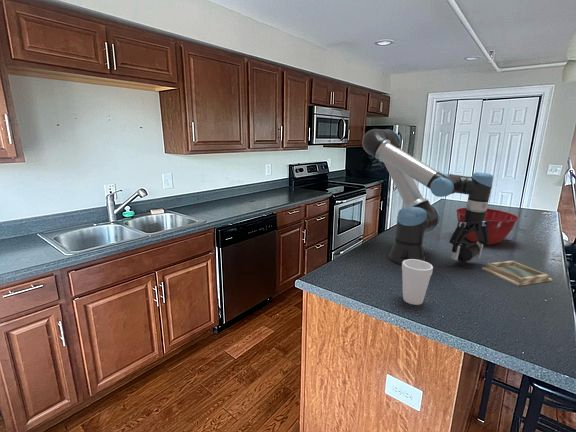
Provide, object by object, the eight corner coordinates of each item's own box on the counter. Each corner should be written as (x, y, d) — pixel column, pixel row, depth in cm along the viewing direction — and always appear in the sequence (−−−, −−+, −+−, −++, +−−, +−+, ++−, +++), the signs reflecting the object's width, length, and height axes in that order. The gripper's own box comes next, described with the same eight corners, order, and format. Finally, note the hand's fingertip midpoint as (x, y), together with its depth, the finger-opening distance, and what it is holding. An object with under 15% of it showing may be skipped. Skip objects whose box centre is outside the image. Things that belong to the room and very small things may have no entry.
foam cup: (420, 293, 113) (425, 259, 110) (432, 307, 104) (438, 270, 101) (394, 293, 112) (398, 259, 109) (404, 307, 104) (409, 270, 100)
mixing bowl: (508, 254, 153) (515, 223, 150) (445, 240, 171) (450, 213, 168) (515, 240, 174) (521, 213, 170) (459, 229, 192) (463, 205, 188)
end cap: (470, 264, 133) (473, 249, 131) (452, 259, 138) (455, 244, 136) (477, 258, 139) (481, 244, 138) (460, 253, 144) (463, 239, 143)
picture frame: (517, 286, 120) (518, 280, 119) (481, 269, 135) (482, 263, 134) (552, 280, 125) (553, 275, 124) (513, 265, 140) (515, 259, 139)
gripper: (459, 213, 126) (449, 263, 132) (506, 211, 132) (494, 259, 138) (445, 208, 133) (437, 256, 138) (490, 207, 139) (480, 252, 145)
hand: (465, 258), depth 138 cm, fingers closed on end cap, 12 cm apart
